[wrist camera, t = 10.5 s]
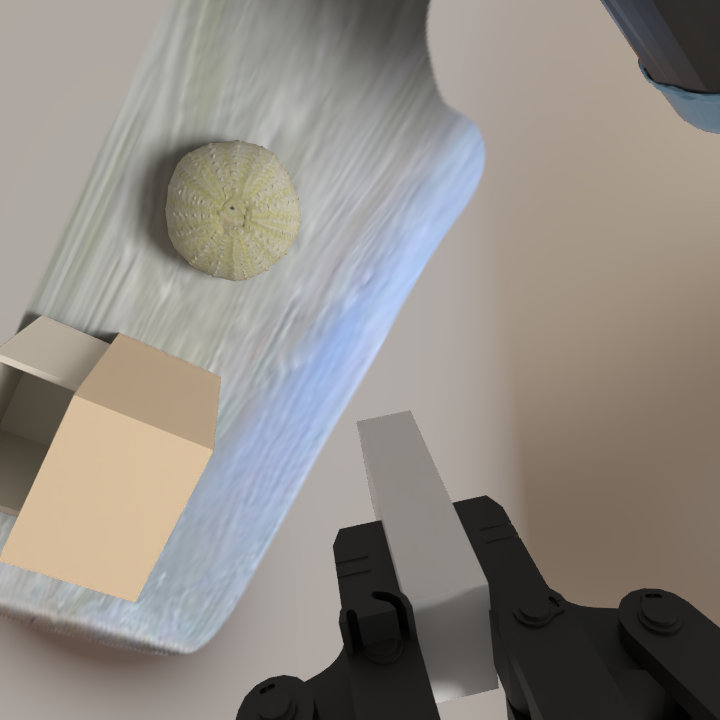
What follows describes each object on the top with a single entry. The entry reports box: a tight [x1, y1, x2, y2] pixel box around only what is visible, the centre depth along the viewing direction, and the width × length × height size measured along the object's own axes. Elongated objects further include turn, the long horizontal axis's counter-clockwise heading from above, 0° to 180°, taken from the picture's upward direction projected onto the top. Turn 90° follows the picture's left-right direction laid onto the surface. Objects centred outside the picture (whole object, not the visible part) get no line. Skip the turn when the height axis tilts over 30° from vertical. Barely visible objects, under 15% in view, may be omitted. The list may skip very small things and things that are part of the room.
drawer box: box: [0, 315, 111, 517], centre depth 41 cm, size 10×9×9 cm
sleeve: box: [0, 333, 221, 602], centre depth 41 cm, size 8×11×13 cm
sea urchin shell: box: [164, 140, 301, 281], centre depth 42 cm, size 9×8×8 cm
